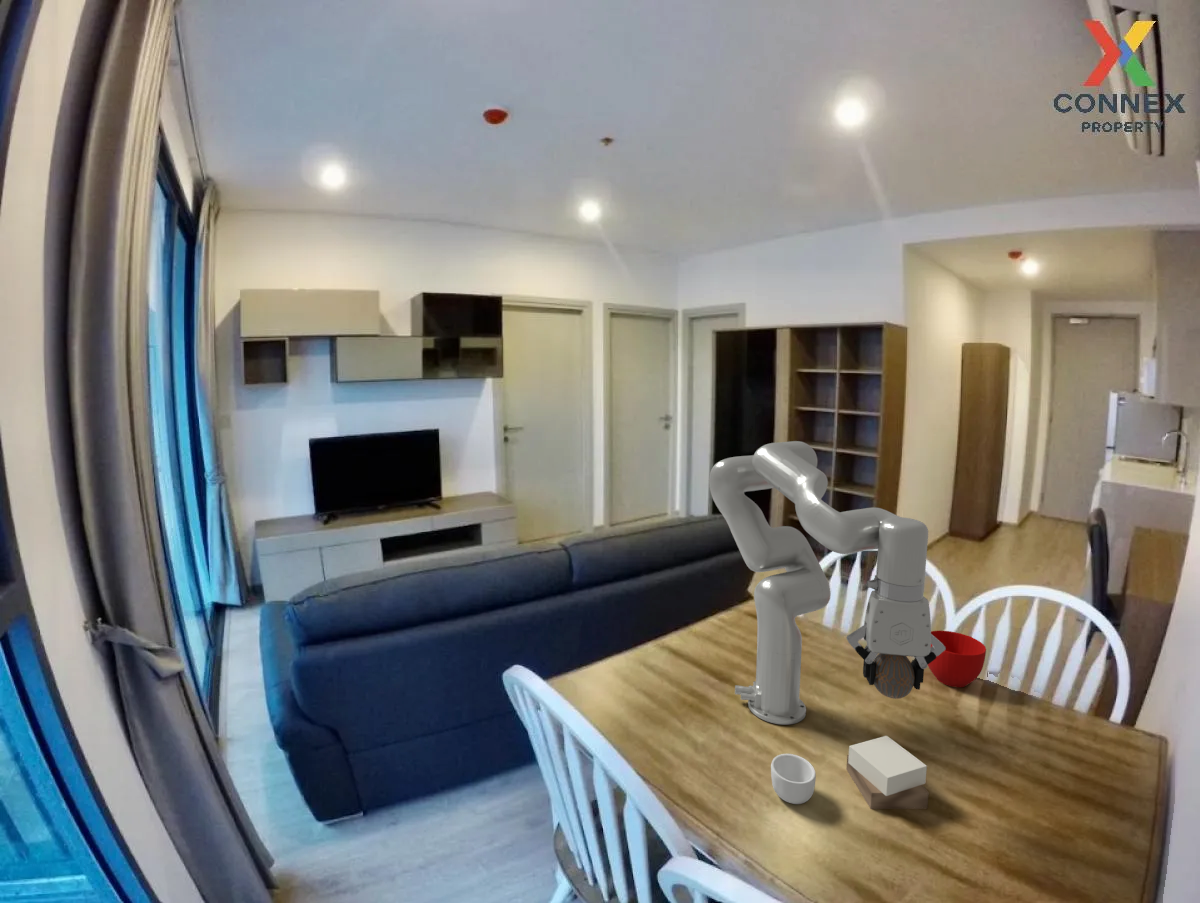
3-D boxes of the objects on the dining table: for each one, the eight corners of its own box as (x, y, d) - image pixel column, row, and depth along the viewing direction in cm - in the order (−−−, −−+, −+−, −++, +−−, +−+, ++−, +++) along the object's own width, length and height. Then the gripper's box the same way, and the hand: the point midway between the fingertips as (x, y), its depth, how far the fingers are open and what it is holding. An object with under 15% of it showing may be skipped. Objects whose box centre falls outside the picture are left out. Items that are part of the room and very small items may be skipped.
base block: (870, 810, 101) (871, 793, 101) (846, 771, 111) (847, 754, 111) (927, 810, 101) (928, 792, 101) (897, 771, 111) (899, 754, 111)
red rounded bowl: (997, 677, 143) (1001, 639, 142) (969, 701, 133) (973, 661, 132) (941, 657, 154) (944, 621, 152) (911, 677, 144) (914, 640, 142)
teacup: (817, 814, 100) (819, 786, 99) (771, 807, 102) (773, 780, 101) (808, 774, 110) (810, 749, 109) (767, 769, 111) (768, 744, 111)
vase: (862, 683, 107) (865, 638, 105) (898, 681, 107) (901, 637, 106) (883, 704, 100) (887, 657, 99) (921, 702, 100) (925, 655, 99)
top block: (886, 796, 100) (887, 777, 100) (848, 762, 108) (849, 745, 108) (925, 783, 103) (926, 765, 102) (885, 752, 111) (886, 735, 111)
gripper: (851, 593, 99) (845, 689, 101) (962, 600, 95) (953, 700, 98) (841, 577, 106) (836, 668, 109) (945, 584, 103) (937, 677, 105)
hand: (892, 682), depth 103 cm, fingers closed on vase, 6 cm apart
